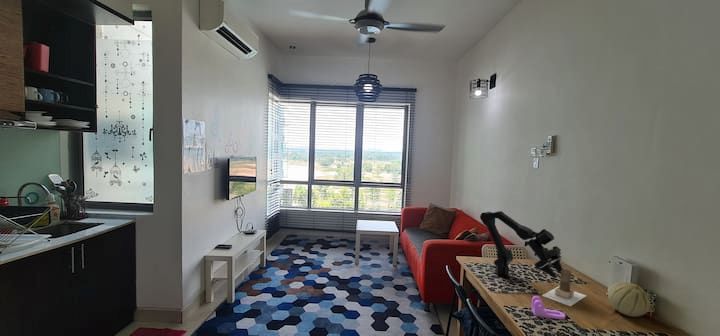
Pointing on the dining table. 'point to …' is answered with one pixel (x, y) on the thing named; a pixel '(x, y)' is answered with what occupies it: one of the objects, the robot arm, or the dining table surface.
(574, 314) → the dining table surface
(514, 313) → the dining table surface
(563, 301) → the board
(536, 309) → the bracket
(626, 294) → the cantaloupe
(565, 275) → the brown piece
